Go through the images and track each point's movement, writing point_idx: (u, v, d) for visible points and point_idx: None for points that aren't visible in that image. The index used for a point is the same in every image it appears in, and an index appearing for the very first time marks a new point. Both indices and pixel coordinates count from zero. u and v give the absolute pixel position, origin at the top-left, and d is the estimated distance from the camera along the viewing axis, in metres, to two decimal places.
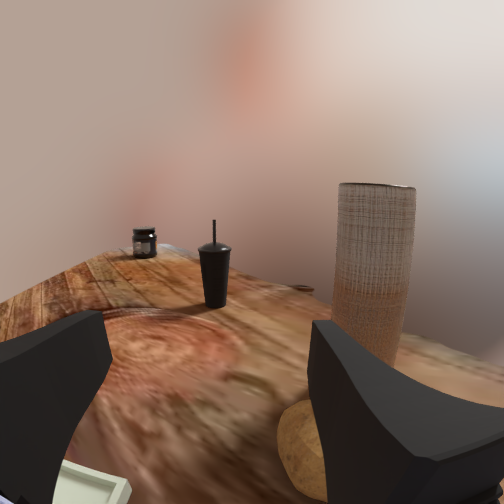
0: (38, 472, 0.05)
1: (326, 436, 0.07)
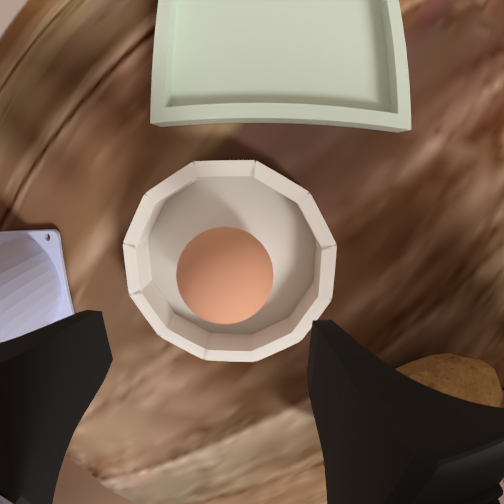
0: (38, 473, 0.05)
1: (326, 436, 0.07)
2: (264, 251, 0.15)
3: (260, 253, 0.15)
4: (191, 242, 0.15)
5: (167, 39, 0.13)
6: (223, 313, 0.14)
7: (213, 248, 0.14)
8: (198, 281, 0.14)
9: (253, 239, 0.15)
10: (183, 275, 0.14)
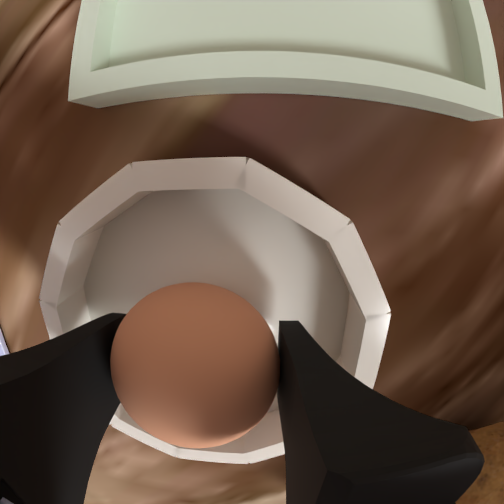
0: (66, 485, 0.05)
1: (287, 438, 0.07)
2: (264, 335, 0.08)
3: (256, 345, 0.07)
4: (129, 316, 0.08)
5: None
6: (190, 445, 0.07)
7: (162, 340, 0.07)
8: (138, 399, 0.06)
9: (243, 313, 0.08)
10: (116, 380, 0.07)
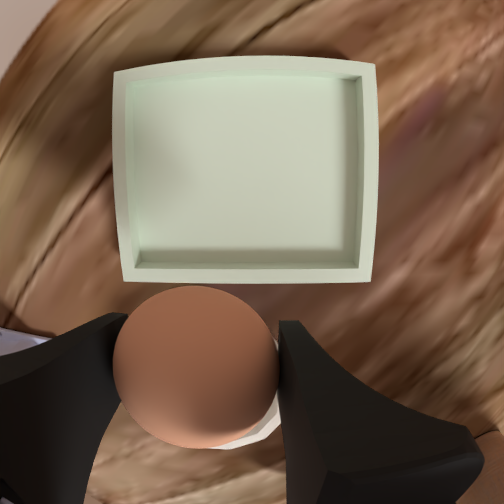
0: (66, 485, 0.05)
1: (287, 438, 0.07)
2: (265, 341, 0.08)
3: (256, 351, 0.07)
4: (133, 317, 0.08)
5: (127, 195, 0.16)
6: (187, 445, 0.07)
7: (164, 343, 0.07)
8: (138, 399, 0.07)
9: (245, 319, 0.08)
10: (117, 379, 0.07)
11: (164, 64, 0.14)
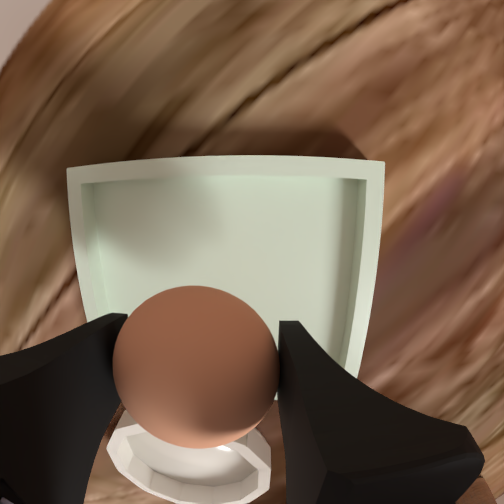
0: (66, 485, 0.05)
1: (287, 438, 0.07)
2: (265, 341, 0.08)
3: (256, 351, 0.07)
4: (133, 316, 0.08)
5: (97, 311, 0.14)
6: (187, 445, 0.07)
7: (165, 342, 0.07)
8: (138, 399, 0.06)
9: (245, 319, 0.08)
10: (117, 378, 0.07)
11: (121, 163, 0.12)
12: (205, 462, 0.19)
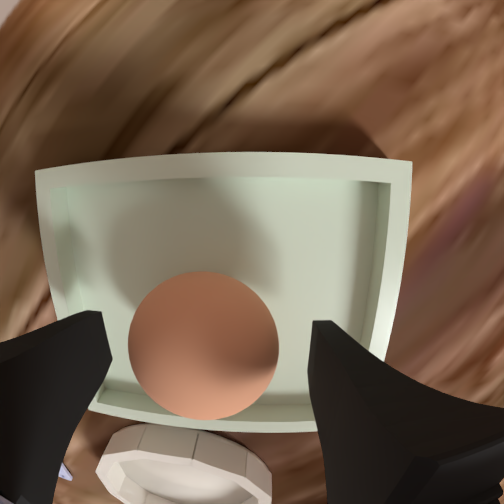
0: (38, 473, 0.05)
1: (326, 436, 0.07)
2: (266, 318, 0.09)
3: (258, 326, 0.09)
4: (148, 298, 0.09)
5: None
6: (196, 415, 0.08)
7: (178, 318, 0.08)
8: (154, 370, 0.08)
9: (248, 299, 0.09)
10: (134, 354, 0.08)
11: (93, 164, 0.10)
12: (201, 486, 0.17)
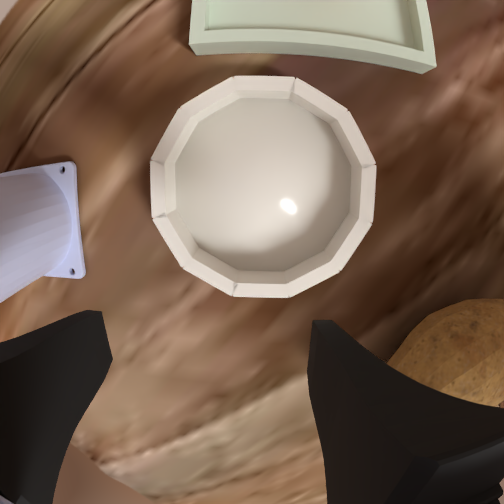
0: (38, 473, 0.05)
1: (326, 436, 0.07)
2: None
3: None
4: None
5: None
6: None
7: None
8: None
9: None
10: None
11: None
12: (279, 203, 0.17)
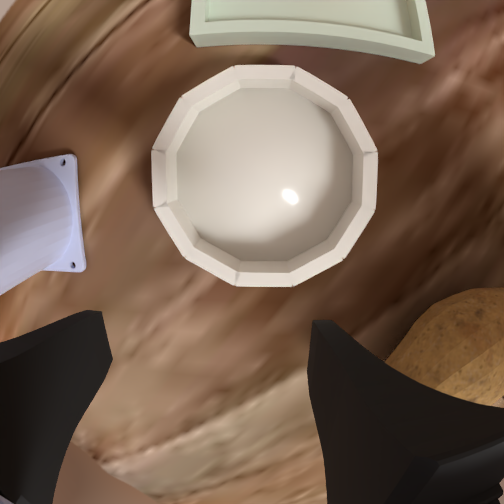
0: (38, 473, 0.05)
1: (326, 436, 0.07)
2: None
3: None
4: None
5: None
6: None
7: None
8: None
9: None
10: None
11: None
12: (281, 192, 0.17)
